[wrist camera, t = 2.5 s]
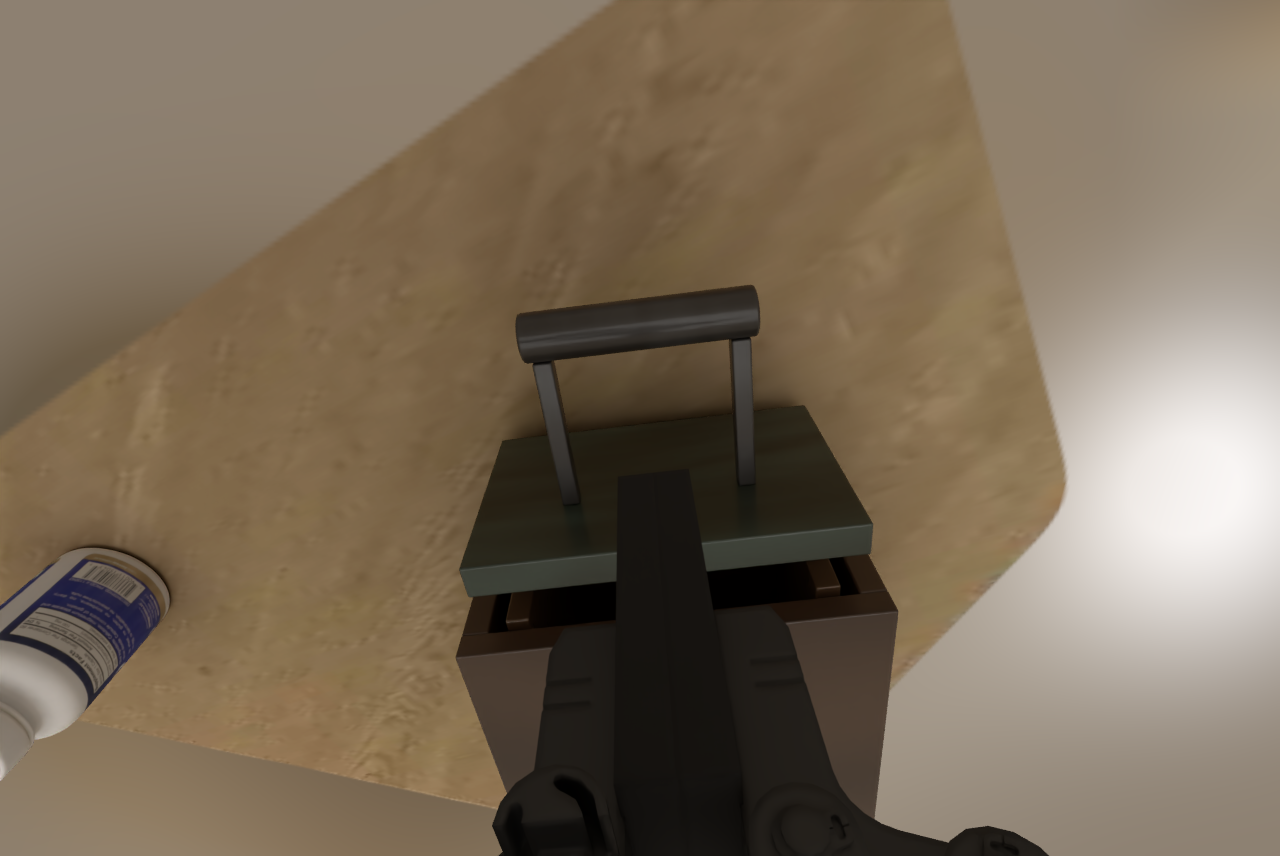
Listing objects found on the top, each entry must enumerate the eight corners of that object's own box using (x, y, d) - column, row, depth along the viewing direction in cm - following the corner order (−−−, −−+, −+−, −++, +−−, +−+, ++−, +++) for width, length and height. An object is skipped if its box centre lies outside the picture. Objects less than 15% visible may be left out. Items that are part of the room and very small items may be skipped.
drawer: (460, 280, 22) (388, 366, 16) (806, 237, 22) (892, 305, 15) (560, 663, 32) (544, 820, 25) (802, 638, 32) (852, 791, 25)
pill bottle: (98, 631, 32) (-73, 809, 24) (31, 553, 29) (-185, 723, 21) (195, 616, 31) (53, 791, 23) (135, 536, 29) (-45, 702, 21)
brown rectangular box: (505, 482, 28) (454, 657, 19) (812, 447, 27) (899, 611, 19) (563, 697, 35) (545, 896, 26) (807, 672, 35) (869, 866, 26)
